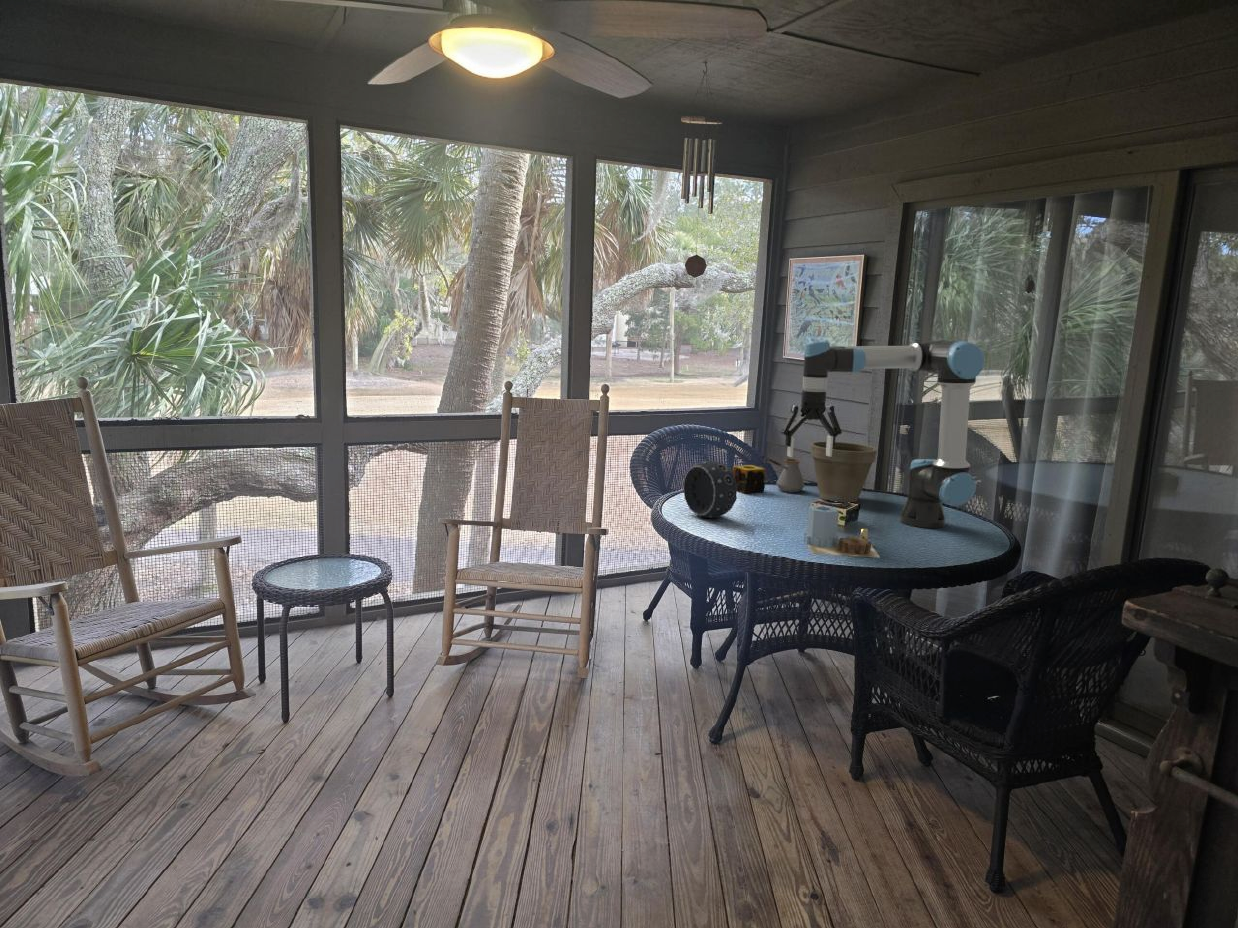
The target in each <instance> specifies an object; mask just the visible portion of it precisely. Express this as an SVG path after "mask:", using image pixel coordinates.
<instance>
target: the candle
mask: <svg viewBox="0 0 1238 928" xmlns="http://www.w3.org/2000/svg"><path fill="white" fill-rule="evenodd" d="M766 470H767V469H766V468H764V467H761V466H758V465H757V466H756V465H753V464H746V465H745V464H743V465H732V473H733V474H734V478H735V482H736V484H737V493H741V494H744V495H750V494H752V495H753V494H761V493H764V492H765V488H766V486H765V485H766Z"/></svg>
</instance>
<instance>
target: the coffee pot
mask: <svg viewBox="0 0 1238 928" xmlns="http://www.w3.org/2000/svg"><path fill="white" fill-rule="evenodd" d="M765 460H767V461H766V462H765ZM763 462H764V464H765V463H769V462H770V463H772V464H773V465H776V466H779V467H781V468H783V469H782V471H781V473H780V475H779V476H778V479H777V481H776V486H777V488H778V489H780V492H781V491H782V492H783V493H795V492H796V493H799V492H800V491H801V490H803V489H804V487H805V481H804V479H803V476H802V473H801V470H800V467H799V465H800V462H801V460H799V459H796V458H795V459H793V458H785V459H784V462H785V465H783V464H781V463H779V462H777V461H776V460H774V459H772V458H769V457H766V458H764V459H763Z"/></svg>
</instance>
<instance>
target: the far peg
mask: <svg viewBox="0 0 1238 928" xmlns="http://www.w3.org/2000/svg"><path fill="white" fill-rule="evenodd" d="M868 535H869V529H868V528H863V527H862V528H860V537H859V539H866V540H868Z"/></svg>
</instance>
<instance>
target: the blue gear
mask: <svg viewBox="0 0 1238 928" xmlns="http://www.w3.org/2000/svg"><path fill="white" fill-rule="evenodd" d="M807 513H808V514H807V516H808V517H807V528H806V531H805V532H804V538H803V540H804V543H805V544H806V545H807V544H811V545H814V546H815V547H819V546H820V547H827V548H831V547H833V546H838V543H839V540H840V538H839V534H838V526H839V514H840V509H839V508H837V507H834V506H829V505H817V504H816V505H811V506H809V507H808V512H807Z"/></svg>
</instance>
